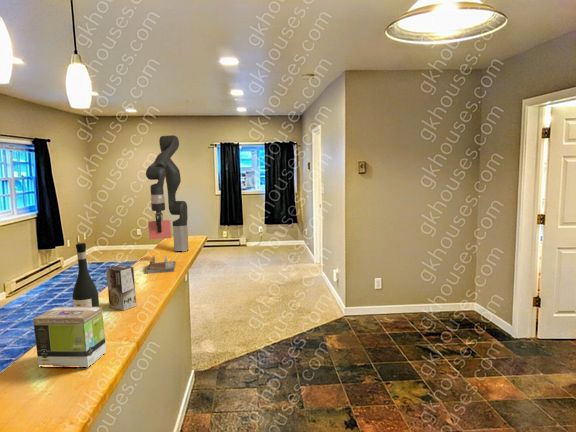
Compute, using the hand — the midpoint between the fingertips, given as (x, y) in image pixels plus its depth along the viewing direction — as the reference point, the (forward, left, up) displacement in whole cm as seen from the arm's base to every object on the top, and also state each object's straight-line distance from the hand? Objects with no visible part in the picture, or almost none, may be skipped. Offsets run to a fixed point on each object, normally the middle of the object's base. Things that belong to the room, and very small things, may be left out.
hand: (160, 231), depth 235 cm
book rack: (+15, 0, -18) cm, 24 cm away
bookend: (+15, +5, -17) cm, 23 cm away
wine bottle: (+95, -17, -19) cm, 98 cm away
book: (0, 0, -4) cm, 4 cm away
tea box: (+120, -15, -19) cm, 122 cm away
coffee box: (+75, -9, -19) cm, 78 cm away
